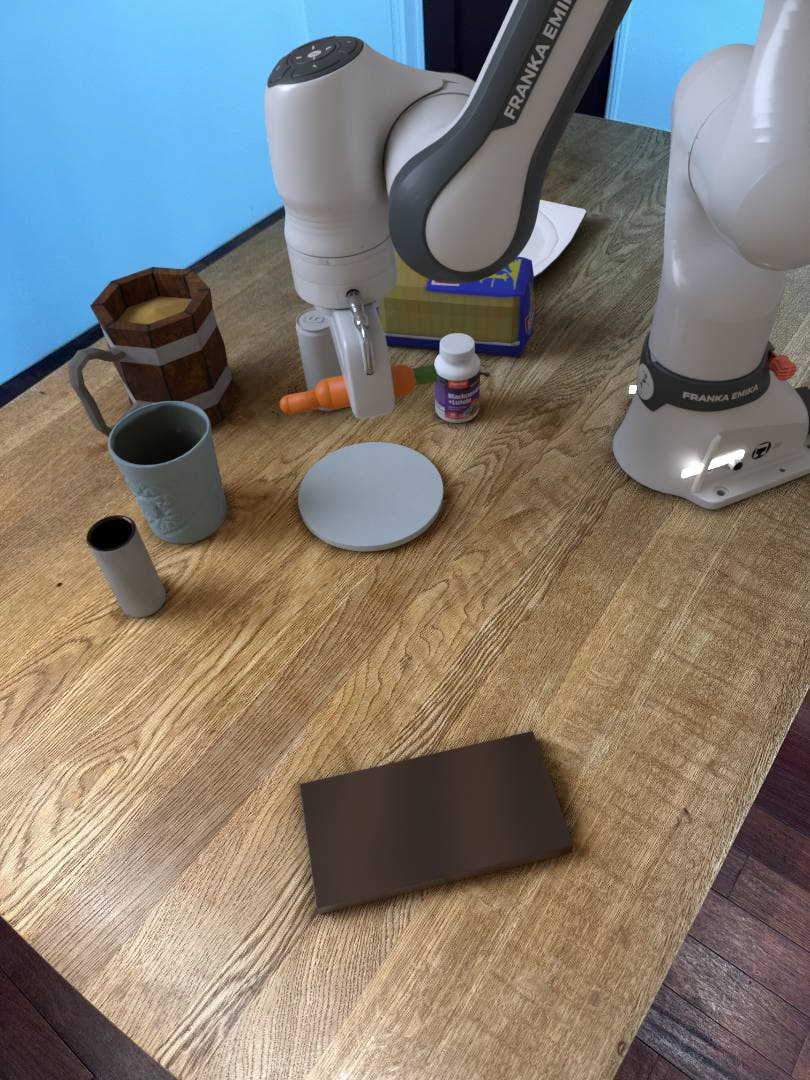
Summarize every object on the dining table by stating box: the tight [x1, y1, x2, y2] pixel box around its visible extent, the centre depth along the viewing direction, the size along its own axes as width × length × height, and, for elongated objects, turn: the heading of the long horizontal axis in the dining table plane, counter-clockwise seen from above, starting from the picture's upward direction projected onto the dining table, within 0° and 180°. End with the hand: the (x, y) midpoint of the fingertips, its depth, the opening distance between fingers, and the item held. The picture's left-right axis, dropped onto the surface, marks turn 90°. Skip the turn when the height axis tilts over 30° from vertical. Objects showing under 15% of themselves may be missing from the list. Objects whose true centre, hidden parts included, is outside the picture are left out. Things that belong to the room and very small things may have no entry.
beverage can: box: [295, 307, 342, 413], centre depth 97 cm, size 5×5×12 cm
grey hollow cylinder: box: [85, 514, 167, 619], centre depth 78 cm, size 4×4×10 cm
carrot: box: [279, 364, 437, 415], centre depth 78 cm, size 15×3×3 cm, turn 102°
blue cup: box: [107, 401, 228, 545], centre depth 85 cm, size 10×10×12 cm
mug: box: [67, 266, 239, 438], centre depth 96 cm, size 20×14×15 cm
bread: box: [376, 250, 537, 358], centre depth 106 cm, size 10×25×10 cm, turn 77°
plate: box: [517, 199, 587, 279], centre depth 123 cm, size 29×29×3 cm
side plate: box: [297, 441, 445, 552], centre depth 89 cm, size 16×16×1 cm
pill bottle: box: [433, 333, 481, 424], centre depth 95 cm, size 5×5×10 cm
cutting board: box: [298, 730, 575, 915], centre depth 65 cm, size 20×10×2 cm, turn 102°
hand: (361, 393), depth 78 cm, fingers closed on carrot, 3 cm apart
